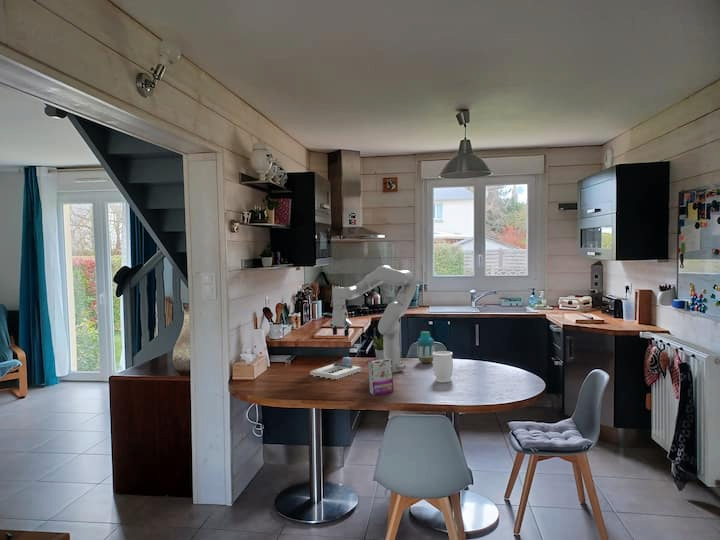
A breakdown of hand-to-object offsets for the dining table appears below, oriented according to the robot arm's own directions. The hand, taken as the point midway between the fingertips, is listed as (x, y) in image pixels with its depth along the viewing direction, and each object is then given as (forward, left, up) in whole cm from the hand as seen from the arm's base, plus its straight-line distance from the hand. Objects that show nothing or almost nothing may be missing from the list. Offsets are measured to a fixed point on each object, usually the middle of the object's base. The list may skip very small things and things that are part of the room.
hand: (340, 335), depth 302 cm
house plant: (-6, -29, -20) cm, 36 cm away
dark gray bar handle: (-6, +6, -17) cm, 19 cm away
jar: (-68, -3, -20) cm, 71 cm away
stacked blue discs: (-1, -3, -20) cm, 20 cm away
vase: (-39, -34, -20) cm, 56 cm away
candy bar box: (-52, +31, -20) cm, 63 cm away
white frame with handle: (-6, +13, -20) cm, 24 cm away
